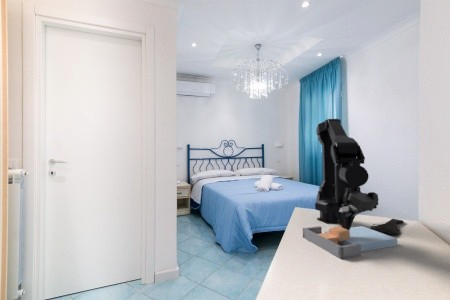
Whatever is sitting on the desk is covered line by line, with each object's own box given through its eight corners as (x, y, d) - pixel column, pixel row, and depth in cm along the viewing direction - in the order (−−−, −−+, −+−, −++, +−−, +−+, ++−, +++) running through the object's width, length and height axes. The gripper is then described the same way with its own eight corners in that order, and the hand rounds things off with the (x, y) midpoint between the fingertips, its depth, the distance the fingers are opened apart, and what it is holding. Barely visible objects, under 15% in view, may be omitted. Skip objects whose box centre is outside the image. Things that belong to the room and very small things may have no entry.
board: (324, 237, 75) (324, 230, 75) (362, 231, 80) (362, 226, 80) (355, 252, 64) (355, 245, 64) (397, 245, 69) (397, 238, 69)
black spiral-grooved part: (412, 217, 90) (393, 227, 74) (412, 226, 90) (393, 239, 74) (387, 213, 96) (365, 221, 80) (387, 222, 96) (365, 232, 80)
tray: (302, 237, 75) (302, 228, 75) (319, 235, 77) (319, 226, 77) (340, 259, 60) (340, 247, 60) (361, 255, 62) (360, 244, 62)
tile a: (329, 236, 71) (328, 228, 71) (339, 234, 72) (338, 226, 72) (339, 241, 67) (339, 233, 67) (350, 238, 68) (349, 230, 68)
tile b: (317, 242, 70) (317, 234, 70) (327, 240, 71) (327, 232, 71) (327, 247, 66) (327, 238, 66) (337, 245, 67) (337, 237, 67)
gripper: (341, 187, 60) (343, 246, 60) (393, 183, 66) (394, 237, 66) (313, 182, 71) (314, 232, 71) (360, 179, 76) (361, 226, 76)
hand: (346, 232), depth 70 cm, fingers closed
